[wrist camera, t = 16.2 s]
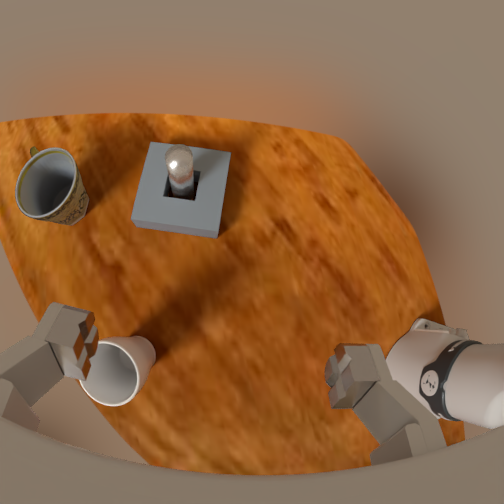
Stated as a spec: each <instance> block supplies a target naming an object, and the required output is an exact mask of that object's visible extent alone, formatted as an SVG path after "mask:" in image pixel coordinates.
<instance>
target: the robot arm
mask: <svg viewBox="0 0 504 504" xmlns="http://www.w3.org/2000/svg"><path fill="white" fill-rule="evenodd" d="M94 321H95V317H94V313H93V312H91V311H87V310H83V309H79V308H75V307H71V306H68V305H63V304H60V303H56V302H53V303H51V304H50V305H49V307H48V309H47V310H46V312H45V314H44V315H43V317H42V319H41V321H40V323H39V324H38V326H37V328H36V330H35V332H34V334H33V335H32V337H30V336H27V337H26V338H24V339H23V340H21V341H19V342H18V343H16V344H15V345H13V346H12V347H10V348H8V349H7V350H6V351H4V352H2V353H1V354H0V504H504V344H482V343H480V342H478V341H474V340H469V337H468V334H467V331H466V330H465V329H458V328H457V329H453V328H450V327H447V326H444V325H441V324H438V323H435V322H432V321H429V320H426V319H423V318H418V319H417V320H416V321H415V322H414V324H413V325H412V327H411V329H410V331H409V332H408V333H407V334H405V335H404V336H403V337H402V338H400V339H399V340H398V341H397V342H396V344H395V345H394V346H393V348H392V349H391V351H390V352H389V354H388V356H387V359H386V360H385V358H384V355H383V352H382V350H381V347H380V346H379V345H378V344H353V343H340V344H338V345H337V346H336V348H335V349H334V351H335V355H333V356H331V357H330V358H329V359H328V361H327V363H326V367H325V380H326V383H327V384H328V385H329V386H330V387H331V389H330V391H329V393H328V395H329V399H330V404H331V409H348V408H353V409H352V410H353V411H354V412H355V413H356V415H357V416H358V417H359V419H360V420H361V421H362V422H363V424H364V425H365V426H366V427H367V429H368V430H369V431H370V432H371V434H372V435H373V436H374V437H375V439H376V440H377V441H378V442H379V443H380V446H379V447H378V448H376V449H375V450H373V451H372V452H371V454H370V459H371V463H372V466H367V467H361V468H354V469H347V470H340V471H332V472H322V473H311V474H295V475H229V474H214V473H202V472H193V471H184V470H177V469H170V468H163V467H157V466H152V465H146V464H141V463H136V462H131V461H127V460H122V459H118V458H114V457H110V456H106V455H103V454H99V453H95V452H91V451H88V450H85V449H82V448H79V447H76V446H73V445H69V444H66V443H64V442H61V441H58V440H55V439H53V438H50V437H47V436H45V435H42V434H40V433H37V429H38V425H39V423H40V420H39V418H38V416H37V415H36V414H35V413H34V411H33V410H32V409H31V408H30V407H31V406H32V405H33V404H35V403H36V402H37V401H38V400H39V399H40V398H41V397H42V396H43V395H44V394H46V393H47V392H48V391H49V390H50V389H51V388H52V387H53V386H54V385H55V384H56V383H58V382H59V381H60V380H61V379H62V378H63V377H64V375H65V376H68V377H72V378H76V379H79V380H83V381H86V379H87V376H88V373H89V370H90V368H91V363H90V360H89V359H90V358H91V357H93V356H94V355H95V353H96V351H97V347H98V341H99V335H98V329H97V328H96V327H95V326H94V325H93V324H94ZM441 417H442V418H444V419H446V420H452V421H461V420H462V421H465V422H469V423H472V424H475V425H479V426H482V427H485V428H489V429H491V428H495V429H493V430H491V431H488V432H486V433H483V434H481V435H478V436H476V437H473V438H471V439H468V440H465V441H462V442H460V443H457V444H454V445H451V446H448V447H447V446H446V442H445V439H444V436H443V434H442V431H441V428H440V425H439V422H438V419H439V418H441Z"/></svg>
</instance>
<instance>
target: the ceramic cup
mask: <svg viewBox="0 0 504 504" xmlns="http://www.w3.org/2000/svg"><path fill="white" fill-rule="evenodd" d="M30 154H31V157H32V158H31V159H30V160H29V161H28V162H27V163H26V165H25V166H24V167H23V169H22V171H21V173H20V175H19V177H18V180H17V183H16V189H15V197H16V202H17V205H18V207H19V209H20V210H21V212H22V213H23V214H25V215H26V216H28V217H30V218H33V219H37V220H42V221H50V222H55V223H59V224H65V225H71V226H72V225H74V224H75V223H77V222H78V221H79V220H81V219H82V218H83V217H84V216H85V214H86V210H87V206H88V203H89V197H88V195H87V193H86V190H85V188H84V186H83V183H82V179H81V175H80V172H79V170H78V167H77V165H76V163H75V160H74V158H73V157H72V155H71V154H70V153H69V152H68V151H66V150H64V149H61V148H48V149H45V150H43V151H41V152H39V151H38V150H37V149H36V147H32V148H31V149H30Z"/></svg>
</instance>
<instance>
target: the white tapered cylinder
mask: <svg viewBox="0 0 504 504" xmlns="http://www.w3.org/2000/svg"><path fill="white" fill-rule="evenodd" d="M155 359H156V353H155V349H154V347H153V345H152V344H151V342H150V341H148V340H147V339H146V338H144V337H141V336H130V337H121V336H116V337H108V338H103V339H100V340H99V341H98V347H97V351H96V353H95V355H94V356H93V357H91V358H90V359H89V360H90V363H91V368H90V370H89V373H88V376H87V379H86V381H83V380H79V381H80V383H81V385H82V387H83V389H84V390H85V391H86V393H87V394H88V395H89V396H90V397H91V398H93V399H94V400H95V401H97V402H99V403H101V404H104V405H108V406H120V405H123V404H126V403H127V402H129V401H130V400H132V399H133V398H134V397H135V396H136V395H137V394H138V393H139V391H140V390H141V389H142V387H143V386H144V384H145V382H146V380H147V378H148V375H149V373H150V370H151V368H152V366H153V365H154V363H155Z"/></svg>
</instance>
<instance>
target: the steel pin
mask: <svg viewBox="0 0 504 504" xmlns="http://www.w3.org/2000/svg"><path fill="white" fill-rule="evenodd" d="M165 161H166V166H167V171H168V175H169V180H170V184H171V188H172V193H173V197H174V198H178V199H185V200H192V199H193V198H194V176H193V154H192V151H191V149H190V148H189V147H188V146H186V145H183V144H176V145H173V146H171V147H170V148H169V149H168V150H167V151H166V154H165Z"/></svg>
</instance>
